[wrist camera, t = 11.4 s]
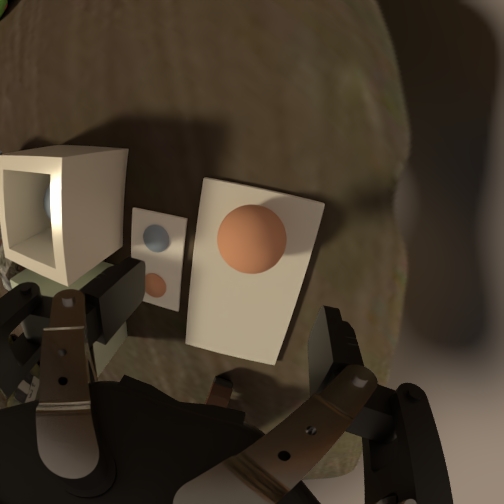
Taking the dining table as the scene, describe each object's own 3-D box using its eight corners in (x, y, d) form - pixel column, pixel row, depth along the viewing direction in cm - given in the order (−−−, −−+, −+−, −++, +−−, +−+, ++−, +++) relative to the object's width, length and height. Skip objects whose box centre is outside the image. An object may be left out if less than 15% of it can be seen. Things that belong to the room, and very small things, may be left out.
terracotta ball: (230, 192, 20) (215, 206, 15) (293, 206, 20) (294, 223, 15) (221, 250, 21) (204, 276, 17) (279, 263, 21) (276, 293, 17)
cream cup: (59, 144, 20) (-3, 155, 13) (128, 148, 20) (62, 157, 12) (58, 228, 24) (5, 257, 16) (122, 246, 23) (68, 286, 16)
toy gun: (204, 391, 39) (181, 453, 32) (215, 370, 26) (180, 471, 18) (218, 396, 39) (196, 458, 32) (238, 378, 26) (204, 479, 18)
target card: (134, 207, 22) (131, 208, 21) (187, 218, 21) (185, 219, 21) (133, 296, 25) (130, 298, 25) (179, 310, 25) (177, 312, 24)
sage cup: (60, 247, 24) (9, 279, 17) (123, 267, 24) (72, 311, 17) (70, 312, 28) (31, 349, 20) (127, 336, 27) (92, 384, 20)
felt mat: (205, 177, 20) (203, 178, 20) (323, 202, 20) (325, 204, 19) (187, 339, 26) (185, 343, 26) (274, 361, 26) (274, 365, 25)
